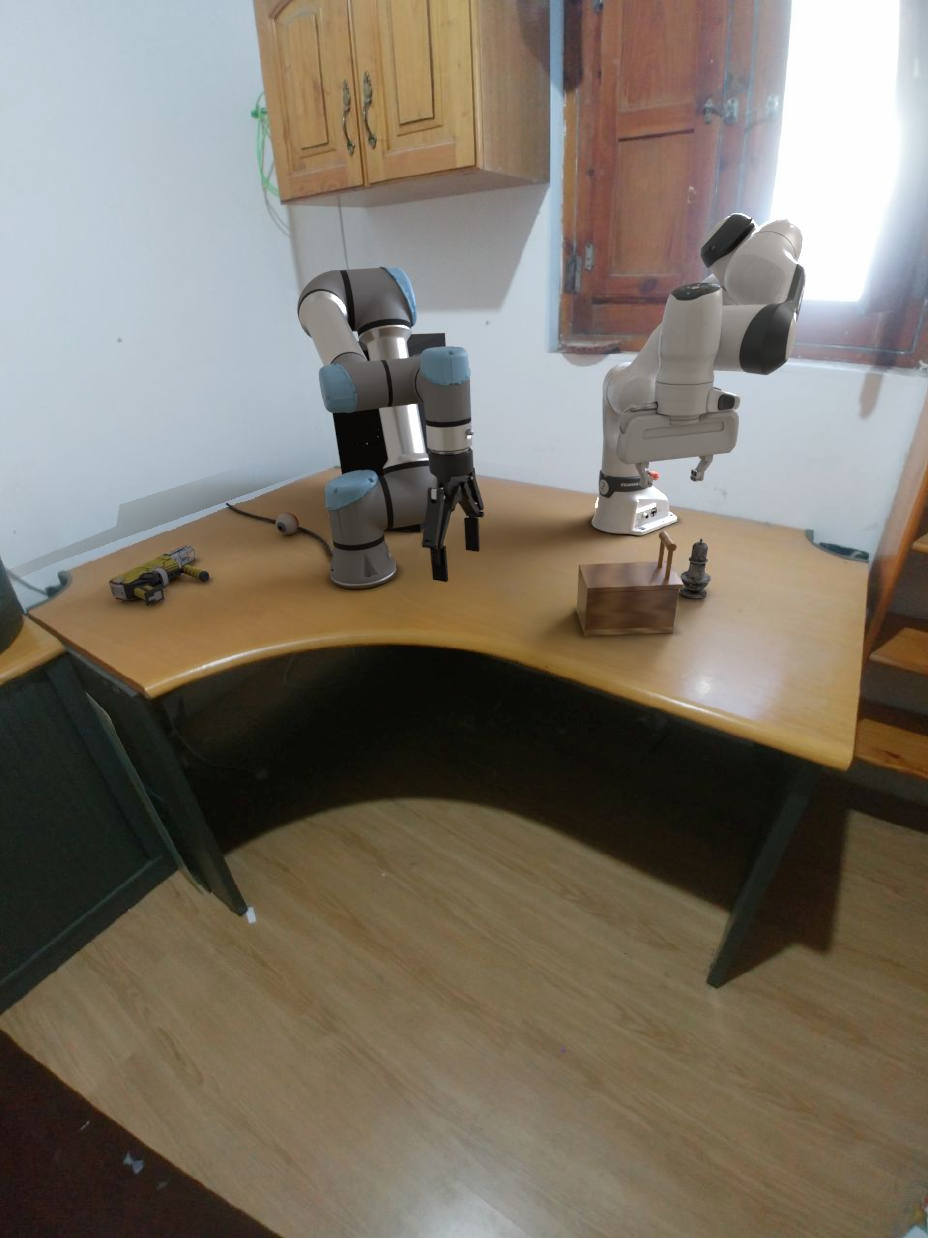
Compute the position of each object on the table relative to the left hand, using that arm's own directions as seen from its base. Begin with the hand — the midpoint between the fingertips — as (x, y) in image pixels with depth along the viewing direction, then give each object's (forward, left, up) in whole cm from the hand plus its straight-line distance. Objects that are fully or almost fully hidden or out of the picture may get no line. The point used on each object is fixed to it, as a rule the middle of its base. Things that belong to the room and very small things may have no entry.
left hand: (457, 564), depth 111 cm
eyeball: (-66, +28, -13) cm, 73 cm away
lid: (+29, +13, -4) cm, 32 cm away
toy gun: (-72, -6, -13) cm, 73 cm away
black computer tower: (-46, +57, -13) cm, 74 cm away
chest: (+28, +13, -13) cm, 34 cm away
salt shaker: (+39, +29, -13) cm, 51 cm away
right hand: (+34, +17, +13) cm, 40 cm away
